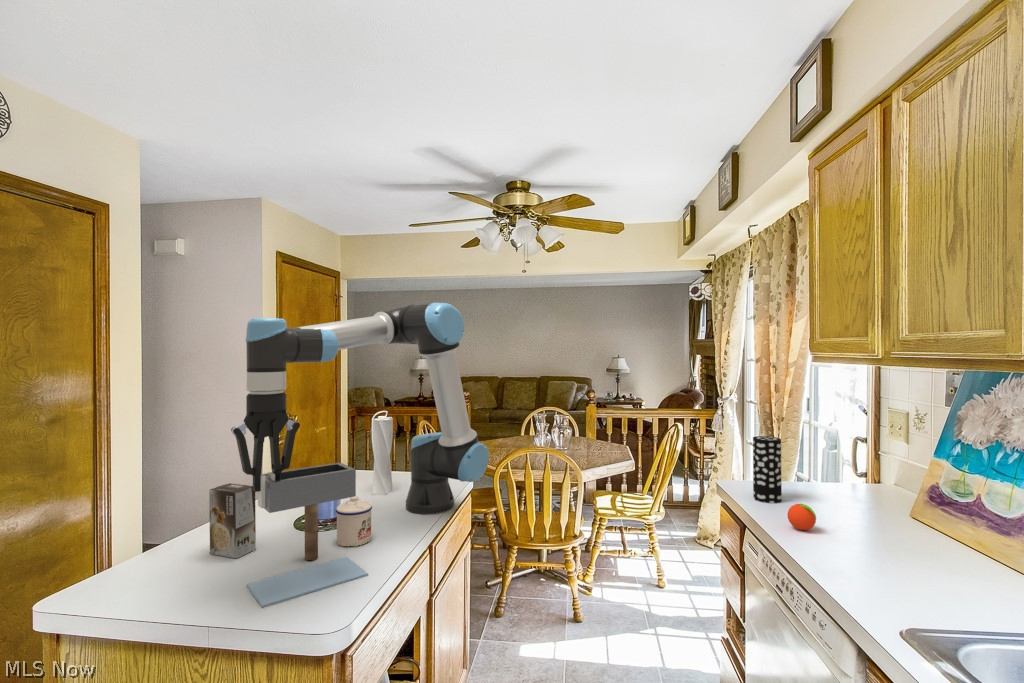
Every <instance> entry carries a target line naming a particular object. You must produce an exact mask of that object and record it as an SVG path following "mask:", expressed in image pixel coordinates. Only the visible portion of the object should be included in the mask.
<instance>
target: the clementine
mask: <svg viewBox="0 0 1024 683" xmlns="http://www.w3.org/2000/svg"><path fill="white" fill-rule="evenodd" d="M786 515H787V519H788V520H787V521H788V522H789V524H791V526H792V527H794V528H795V529H797V530H800V531H809V530H810V529H812V528H813V527H814V526H815V524H816V522H817V516H816V513H815V511H814V510H813V509H812V508H811V507H810V506H809V505H808V504H804V503H794V504H793V505H791V506H790V507H789V509H788V510H787V514H786Z"/></svg>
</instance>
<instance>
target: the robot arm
mask: <svg viewBox="0 0 1024 683" xmlns="http://www.w3.org/2000/svg"><path fill="white" fill-rule="evenodd" d="M246 326H247V327H246V333H245V334H246V335H245V337H246V338H245V344H246V391H247V392H248V393H247V395H246V397H245V398H246V401H245V404H246V406H245V407H246V409H245V410H246V411H245V412H246V415H245V417H244V419H243V422H242V423H241V424H239V425H237V426H232V427H231V428H230V431H231V433H232V434H233V436H234V437H235V440H236V444H237V449H238V454H239V459H240V460H239V461H240V465H241V469H242V472H243V473H244V474H246V475H250V476H252V486H253V490H254V491H255V493H257V506H258V507H259V508H260V509H264V508H265V475H263V474H264V473H262V471H263V470H262V469H263V458H264V457H263V456H264V455H263V454H264V443H265V438H267V437H268V439H269V440H268V441H269V449H270V450H269V452H270V453H269V454H270V464H271V465H270V466H271V467H270V468H271V471H268V472H267V473H268V477H269V478H270V479H272V480H273V481H277V480H280V473H281V472H282V471H286V470H289V468H290V467H291V466H290V465H291V462H292V455H293V449H294V444H295V440H296V435H297V432H298V430H299V428H300V427H301V424H300V422H297V421H294V420H291V419H290V418H289V415H288V413H287V394H286V393H285V392H284V391H286V389H287V364H293V363H299V364H301V363H319V364H320V363H324V362H326V363H327V362H330V361H333V360H334V359H335V358H336V357H337V355H338V352H339V351H341V350H347V349H352V348H357V347H362V346H367V345H373V344H379V345H383V346H386V345H391V344H393V345H394V344H396V345H397V344H399V345H400V344H404V345H405V344H407V345H417V348H418V351H419V352H418V354H419V355H420V356H422V357H423V358H425V360H426V364H427V369H428V373H429V379H430V384H431V389H432V393H433V397H434V402H435V408H436V412H437V416H438V422H439V426H440V431H441V432H429V433H423V434H418V435H415V436H413V437H412V439H411V442H410V443H411V444H410V481H411V482H410V486H409V489H408V492H407V496H406V499H405V509H406V510H407V511H408V512H410V513H413V514H419V515H420V514H422V515H431V514H440V513H443V512H447V511H449V510H452V509H453V508H454V507H455V498H454V494H453V492H452V488H451V486H450V482H449V479H451V480H458V481H460V482H468V483H474V482H476V481H478V480H479V479H480V478H482V476H483V475H484V474H485V472H486V471H487V470H486V469H487V467H488V465H489V461H490V452H489V449H488V446H487V445H485V444H484V443H483V442H479V437H478V433H477V431H476V430H474V429H473V428H471V425H470V419H469V414H468V409H467V403H466V400H465V394H464V389H463V384H462V380H461V374H460V369H459V363H458V358H457V354H456V353H457V351H458V349H459V347H460V341H461V340H462V339H463V336H464V334H463V333H464V331H465V322H464V318H463V317H462V313H461V312H460V311H459V310H458V308H456V307H455V306H454V305H453V304H450V303H446V302H438V301H437V302H429V303H421V304H420V303H417V304H407V305H404V306H400V307H396V308H391V309H388V310H383V311H377V312H376V313H374V314H373V316H367V317H360V318H359V317H358V318H353V319H347V320H337V321H332V322H325V323H317V324H311V325H305V326H304V325H303V326H297V327H291V328H290V327H288V326H287V321H286V319H284V318H276V317H275V318H274V317H255V318H254V317H253V318H251V319H249V320H248V322H247V325H246ZM284 428H286V431H285V432H286V433H285V438H284V443H283V449H282V453H280V450H281V449H280V433H281V432H282V430H283V429H284ZM246 429H248V430H249V431H250V432H251V434H252V435H253V454H252V465H251V459H250V455H249V454H250V453H249V448H248V445H247V444H248V443H247V439H246V436H245V435H246V434H247V430H246Z"/></svg>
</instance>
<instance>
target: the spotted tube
mask: <svg viewBox="0 0 1024 683" xmlns="http://www.w3.org/2000/svg"><path fill="white" fill-rule="evenodd" d="M752 455H753V456H752V458H753V459H752V474H753V475H752V478H753V479H752V482H753V484H752V485H753V493H752V494H753V500H754V501H757V502H760V503H766V504H778V503H779V504H780V503H781V502H782V499H783V498H782V495H783V494H782V493H783V492H782V438H780V437H776V436H775V437H774V436H769V435H768V436H765V435H763V436H762V435H757V436H752Z"/></svg>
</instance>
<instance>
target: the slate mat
mask: <svg viewBox="0 0 1024 683" xmlns="http://www.w3.org/2000/svg"><path fill="white" fill-rule="evenodd" d="M366 575H367V576H369V573H368V572H367V571H366V570H365V569H363V568H362V567H361V566H360V565H358V564H357V563H356V562H354V561H353V560H352V559H351V558H349V556H344V557H341V558H340V557H339V558H337V559H334V560H329V561H326V562H322V563H320V564H315V565H311V566H308V567H304V568H301V569H297V570H294V571H290V572H286V573H282V574H279V575H276V576H275V575H274V576H272V577H271V576H270V577H268V578H265V579H260V580H257V581H253V582H249V583H246V587H247V589H248V590H249V592H250V593H251V595H253V597H254V598H256V599H255V600H256V601H257V603H258V602H259V603H258V604H259V605H261V606H260V608H262V609H263V608H265V607H270V606H272V605H276V604H279V603H282V602H285V601H286V602H287V601H288V600H292V599H295V598H298V597H301V596H304V595H308V594H311V592H312V593H314V592H317V591H321V589H322V590H324V589H327V587H328V588H331V587H334V585H335V586H337V584H338V585H341V584H344V583H347V582H346V581H348V582H350V580H351V581H354V580H357V579H360V578H359V577H361V578H363V576H364V577H367V576H366ZM356 578H357V579H356ZM353 579H354V580H353ZM343 582H344V583H343ZM340 583H341V584H340ZM330 586H331V587H330Z"/></svg>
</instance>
